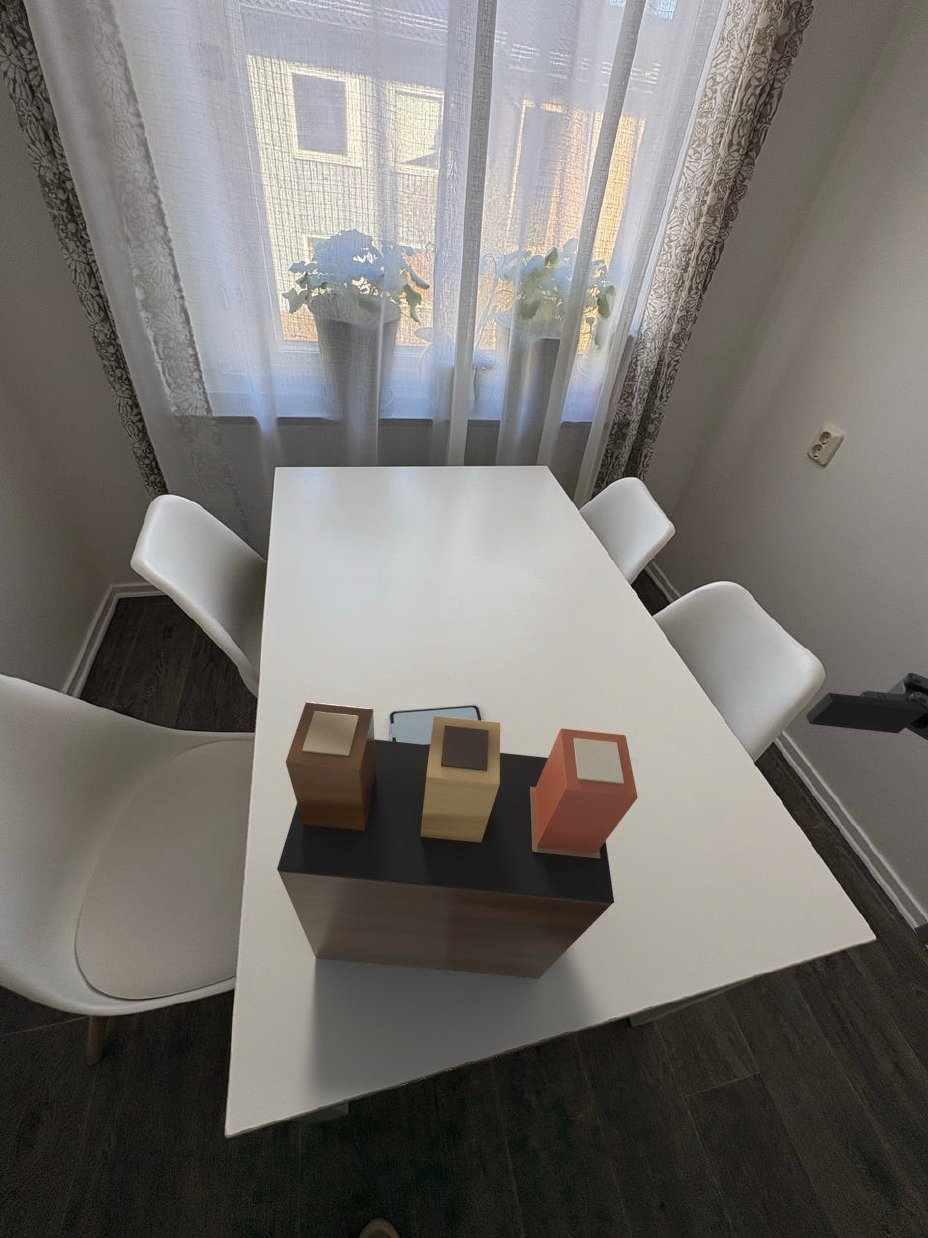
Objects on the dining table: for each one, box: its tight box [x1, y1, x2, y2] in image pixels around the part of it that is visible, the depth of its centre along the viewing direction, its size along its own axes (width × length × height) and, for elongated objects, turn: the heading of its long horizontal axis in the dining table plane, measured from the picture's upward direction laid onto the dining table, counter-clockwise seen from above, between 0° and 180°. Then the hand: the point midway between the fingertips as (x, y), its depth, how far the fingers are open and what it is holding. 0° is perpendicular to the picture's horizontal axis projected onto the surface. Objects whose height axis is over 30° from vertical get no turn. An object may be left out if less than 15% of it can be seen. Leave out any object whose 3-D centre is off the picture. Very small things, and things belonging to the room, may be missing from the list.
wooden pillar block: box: [420, 716, 501, 843], centre depth 40 cm, size 5×5×10 cm
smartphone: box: [388, 704, 484, 745], centre depth 81 cm, size 7×1×15 cm
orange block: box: [534, 727, 639, 853], centre depth 40 cm, size 5×5×10 cm
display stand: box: [277, 870, 613, 980], centre depth 53 cm, size 12×26×28 cm, turn 87°
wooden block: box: [285, 701, 376, 831], centre depth 39 cm, size 5×5×10 cm
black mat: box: [276, 738, 615, 905], centre depth 43 cm, size 12×26×1 cm, turn 87°
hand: (867, 801), depth 31 cm, fingers open, 13 cm apart
